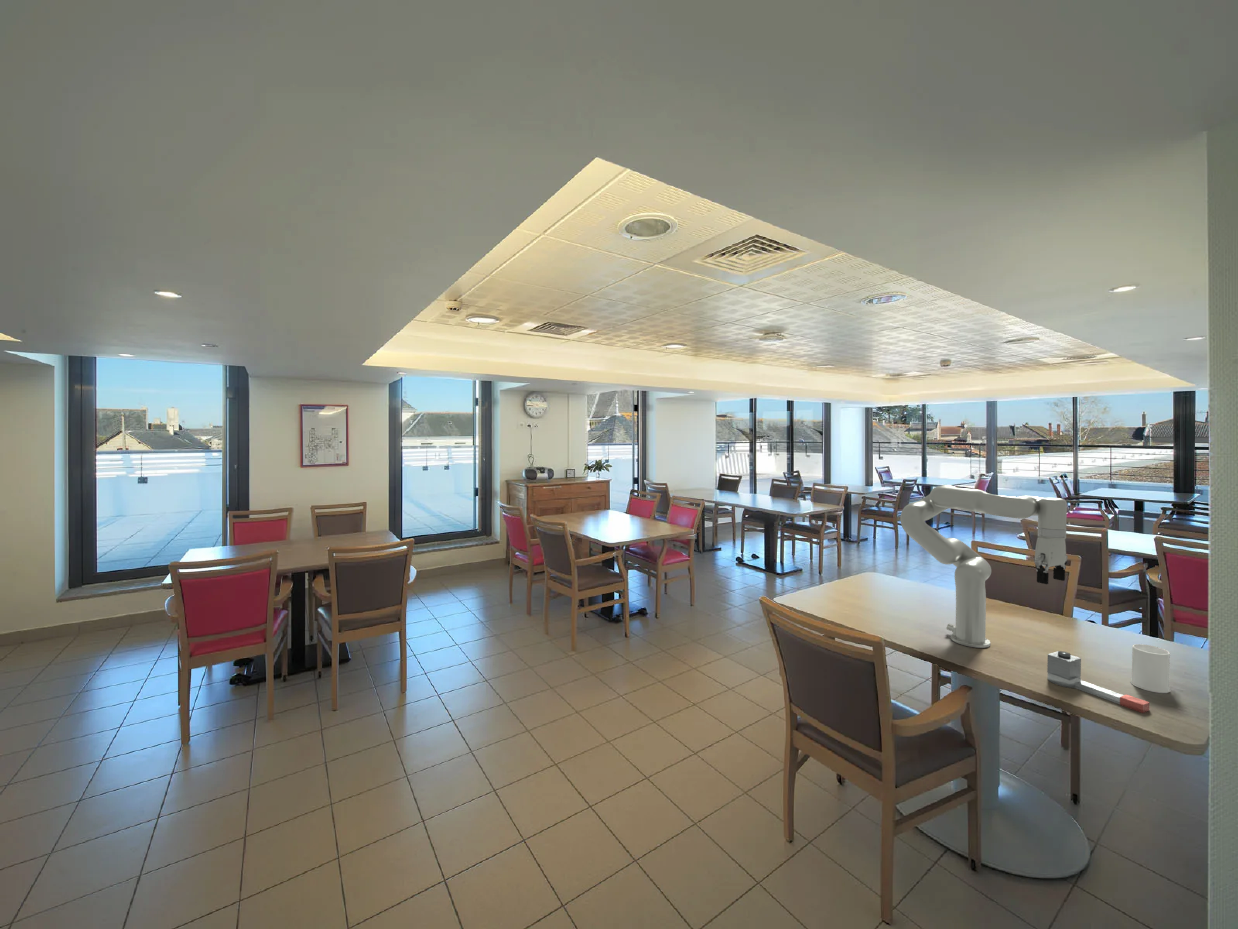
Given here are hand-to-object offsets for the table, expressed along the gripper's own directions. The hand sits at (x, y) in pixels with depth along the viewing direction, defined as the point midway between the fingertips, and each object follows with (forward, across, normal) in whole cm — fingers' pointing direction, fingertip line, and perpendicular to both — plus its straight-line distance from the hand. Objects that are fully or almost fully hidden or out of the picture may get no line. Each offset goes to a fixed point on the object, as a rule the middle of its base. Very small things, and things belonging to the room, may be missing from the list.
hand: (1050, 581), depth 175 cm
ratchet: (+28, +14, +19) cm, 37 cm away
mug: (+28, -8, +24) cm, 38 cm away
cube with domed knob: (+26, +14, +11) cm, 31 cm away
